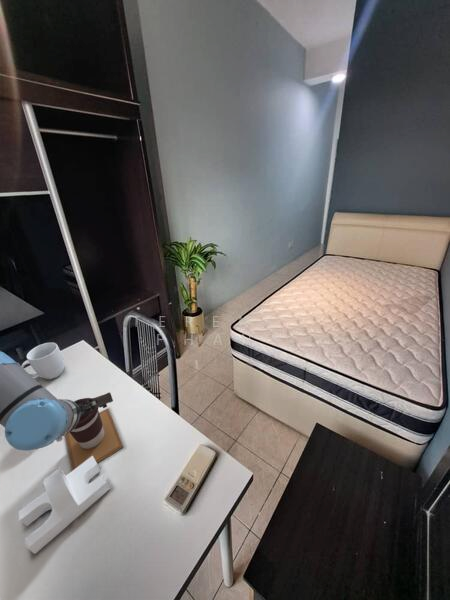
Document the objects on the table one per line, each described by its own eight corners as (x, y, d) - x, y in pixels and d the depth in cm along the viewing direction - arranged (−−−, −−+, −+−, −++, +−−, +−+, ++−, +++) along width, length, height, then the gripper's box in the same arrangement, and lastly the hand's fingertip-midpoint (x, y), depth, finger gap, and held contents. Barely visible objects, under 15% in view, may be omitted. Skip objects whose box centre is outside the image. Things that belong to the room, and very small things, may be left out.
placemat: (65, 431, 83) (64, 431, 83) (108, 409, 91) (107, 408, 90) (74, 478, 70) (73, 477, 70) (123, 447, 78) (122, 446, 77)
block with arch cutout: (96, 462, 74) (84, 441, 68) (110, 488, 68) (99, 467, 62) (24, 517, 63) (3, 497, 57) (34, 554, 57) (11, 536, 51)
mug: (27, 391, 100) (12, 367, 94) (30, 375, 108) (16, 352, 102) (69, 376, 107) (57, 352, 100) (68, 361, 115) (57, 339, 109)
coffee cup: (71, 439, 80) (54, 408, 73) (102, 419, 86) (88, 388, 79) (81, 461, 74) (63, 429, 67) (114, 437, 80) (100, 406, 73)
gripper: (-15, 473, 46) (27, 451, 64) (124, 406, 57) (125, 405, 75) (-24, 432, 47) (19, 423, 65) (113, 376, 58) (117, 381, 77)
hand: (76, 413), depth 70 cm, fingers open, 13 cm apart
